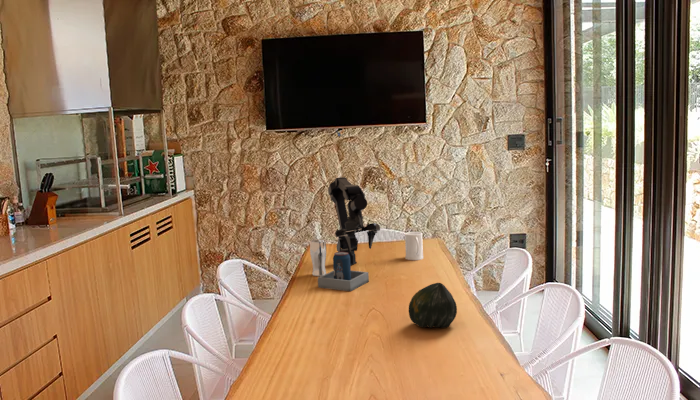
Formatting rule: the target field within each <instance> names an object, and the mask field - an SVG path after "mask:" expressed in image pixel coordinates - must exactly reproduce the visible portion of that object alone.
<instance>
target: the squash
mask: <svg viewBox="0 0 700 400" xmlns="http://www.w3.org/2000/svg"><path fill="white" fill-rule="evenodd" d="M457 307H458V306H457V302H456V300H455V299H454V296H453V295H452V293H451V292H450V291H449V289H448V288H447V287H446V286H445V284H443V283H442V282H436V283H434V282H433V283H431V284H429V285H427V286H425V287H423V288H421V289H419V290H418V291H417V292H415V294H414V295H413V296H412V297H411V300H410V301H409V304H408V316H409V319H410V321H411V323H413V324H414V325H417V326H418V327H420V328H427V327H428V328H433V327H434V328H440V329H444V328H447V327H449V326H451V324H452V323H453V322H454V321H455V319H456V317H457V313H458V308H457Z"/></svg>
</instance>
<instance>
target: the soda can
mask: <svg viewBox="0 0 700 400" xmlns="http://www.w3.org/2000/svg"><path fill="white" fill-rule="evenodd" d="M333 254H334V255H333V257H332V264H333V265H332V267H333V270H332V271H334V279H341V280H351V270H352V269H351V266H350V256H349V254H348V252H338V251H336V252H334V253H333Z"/></svg>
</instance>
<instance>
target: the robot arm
mask: <svg viewBox="0 0 700 400" xmlns="http://www.w3.org/2000/svg"><path fill="white" fill-rule="evenodd" d="M327 189H328V190H327V192H328V195H329V198H330V200H331V202H333V203H334V205H335V210H336V215H337V220H338V221H337V222H338V225H339V229H336V230H335V232H334V233H335V234H334V236H335V237H336V238H337V243H336V252H348V254H349V256H350V267H351V266H353V265H354V264H355V265H356V264H357V261H356V259H357V258H356V257H357V256H356V252H357V251H358V244H359V240H358V238H357V237H356V234H357V233H362V232H366V233H367V241H368V242H367V243H368V249H370V250H371V249H372V246H373V242H374V239H375V235H376V234H378V232H379V231H381V227H380V224H378V223H375V222H373V223H368V224H366V226H365V225H364V221H363V220H364V216H363V212H362V211H364V209H365V208H367V206H368V201H367V199H366V195H365V194H364V191H363V189H362V188H361V187H360V185H358V184H352V183H351V182H350V181H349V180H348V179H347V177H345V176H342V177H341V176H339V177H335V179H334V181H332V182H330V184H329V186H328V188H327ZM345 200H346V201H348V203H347V205H346V201H345ZM346 206H347V207H346ZM347 211H348V212H347Z"/></svg>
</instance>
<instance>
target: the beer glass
mask: <svg viewBox="0 0 700 400" xmlns="http://www.w3.org/2000/svg"><path fill="white" fill-rule="evenodd" d="M309 251H310V252H309V253H310V259H311V263H312V274H311V275H312V277H313V276H314V277H320V276H323V275H325V274H327V270H326V260H327V242H326V239H324V238H315V239H312V240H310V242H309Z"/></svg>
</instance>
